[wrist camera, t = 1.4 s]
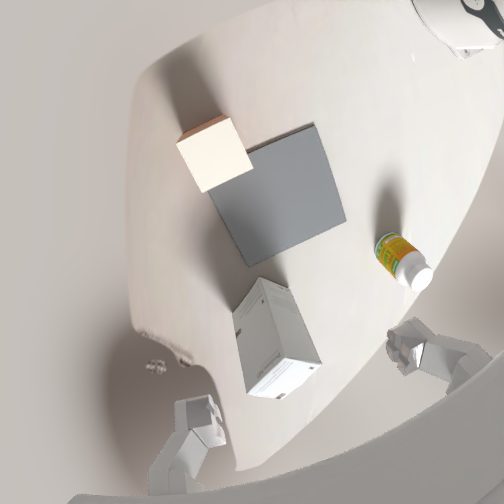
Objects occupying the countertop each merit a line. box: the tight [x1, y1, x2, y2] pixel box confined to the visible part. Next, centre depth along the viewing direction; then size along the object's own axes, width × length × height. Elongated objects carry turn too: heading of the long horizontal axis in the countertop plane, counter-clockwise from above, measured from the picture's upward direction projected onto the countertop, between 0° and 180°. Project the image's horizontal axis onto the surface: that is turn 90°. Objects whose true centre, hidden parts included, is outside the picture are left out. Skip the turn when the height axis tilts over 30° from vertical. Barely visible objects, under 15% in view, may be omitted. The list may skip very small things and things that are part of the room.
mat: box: [207, 125, 346, 267], centre depth 36 cm, size 15×14×1 cm
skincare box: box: [232, 277, 322, 399], centre depth 37 cm, size 8×6×15 cm
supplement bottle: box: [375, 232, 433, 292], centre depth 39 cm, size 5×5×10 cm
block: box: [176, 115, 253, 193], centre depth 28 cm, size 5×5×9 cm
